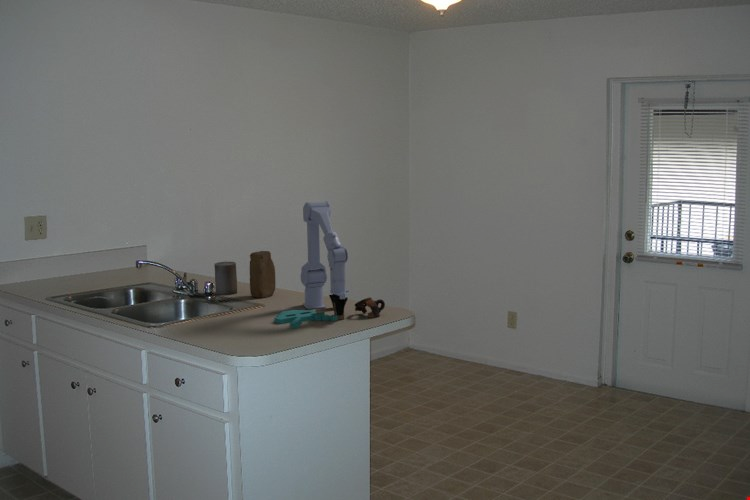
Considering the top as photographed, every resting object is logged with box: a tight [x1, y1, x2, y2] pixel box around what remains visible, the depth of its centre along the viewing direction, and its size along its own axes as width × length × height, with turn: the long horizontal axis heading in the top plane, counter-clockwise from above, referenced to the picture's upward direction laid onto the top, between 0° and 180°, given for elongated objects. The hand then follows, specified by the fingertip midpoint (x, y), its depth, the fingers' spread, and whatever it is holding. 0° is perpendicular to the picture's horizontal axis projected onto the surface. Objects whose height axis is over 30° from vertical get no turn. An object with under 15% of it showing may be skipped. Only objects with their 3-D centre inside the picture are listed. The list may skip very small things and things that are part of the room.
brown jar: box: [249, 250, 277, 299], centre depth 341 cm, size 11×8×20 cm
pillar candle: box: [213, 260, 238, 296], centre depth 349 cm, size 10×10×15 cm
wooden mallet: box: [315, 303, 345, 321], centre depth 296 cm, size 4×10×6 cm, turn 106°
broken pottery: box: [354, 297, 386, 319], centre depth 302 cm, size 12×10×8 cm
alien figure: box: [273, 309, 339, 329], centre depth 296 cm, size 20×2×20 cm
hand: (338, 314), depth 297 cm, fingers closed on wooden mallet, 4 cm apart
